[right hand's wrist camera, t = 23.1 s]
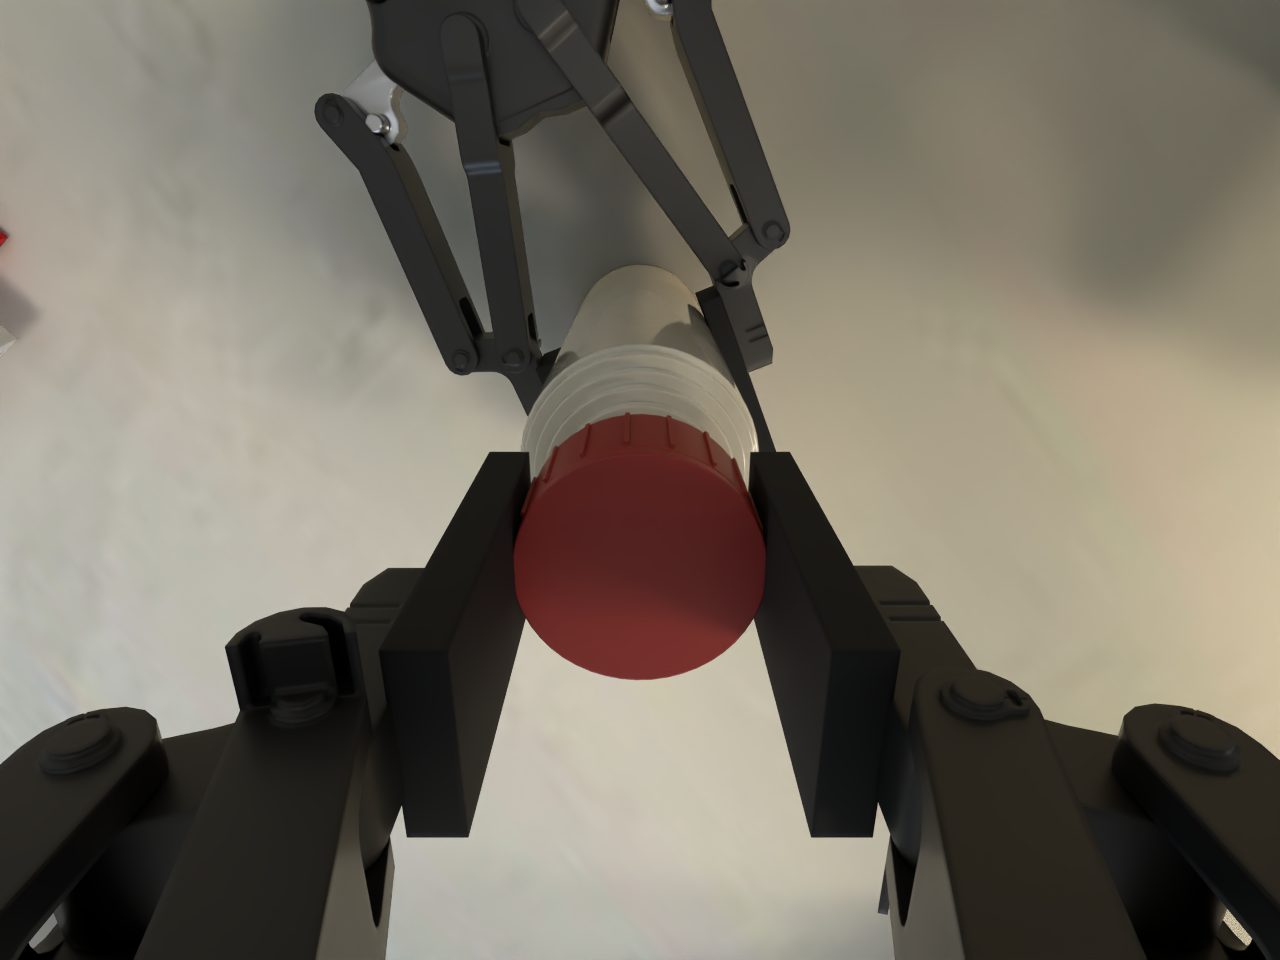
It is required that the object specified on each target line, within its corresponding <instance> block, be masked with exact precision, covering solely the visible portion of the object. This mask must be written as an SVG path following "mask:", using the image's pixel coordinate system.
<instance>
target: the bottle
mask: <svg viewBox="0 0 1280 960" xmlns="http://www.w3.org/2000/svg"><path fill="white" fill-rule="evenodd" d="M627 412H630V414H649V415H659V416H664V417H667V415H670V416H671V417H672V418H673V419H676V420H678V421H681V422H684V423H687V424H689V425H691V426H693V427H695V428H697V429H699V430H701V431H702V432H703V433H704V431H707V432H708V433H709V436H710V437H711V438H712V439H713V440H714V441H716V442H717V443H718V444H719V445H720V446H721V447H722V448H723V449H724V450H725V451H726V452H727V454H728V455H729V456H730V457H731V458H735V459H736V460H737V463H738V466H739V469H740V472H741V475H742V478H743V480H744V482H745V485H746V487H747V490H748V484H749V466H750V452H759V447H758V440H757V433H756V430H755V426H754V423H753V419H752V417H751V415H750V413H749V410H748V408H747V406H746V404H745V402H744V400H743V397H742V395H741V393H740V391H739V389H738V387H737V385H736V383H735V381H734V379H733V377H732V375H731V373H730V371H729V368H728V366H727V364H726V362H725V360H724V358H723V356H722V354H721V352H720V350H719V348H718V346H717V344H716V341H715V339H714V337H713V335H712V333H711V331H710V329H709V327H708V325H707V323H706V321H705V319H704V317H703V314H702V312H701V310H700V308H699V306H698V304H697V302H696V300H695V298H694V296H693V295H692V293H691V291H690V290H689V289H688V287H687V286H686V285H685V284H684V283H683V282H682V281H681V280H680V279H679V278H677V277H676V276H675V275H673V274H672V273H670V272H668V271H666V270H664V269H661V268H658V267H655V266H650V265H630V266H625V267H622V268H619V269H616V270H614V271H612V272H610V273H608V274H607V275H605V276H604V277H602V278H601V279H600V280H599V281H598V282H597V283H596V284H595V285H594V286H593V287H592V288H591V290H590V291H589V293H588V294H587V296H586V298H585V300H584V302H583V304H582V306H581V308H580V310H579V312H578V314H577V316H576V318H575V321H574V323H573V325H572V327H571V329H570V331H569V333H568V335H567V337H566V339H565V341H564V343H563V345H562V347H561V350H560V352H559V354H558V356H557V358H556V360H555V362H554V364H553V366H552V368H551V370H550V372H549V374H548V376H547V379H546V381H545V383H544V385H543V387H542V389H541V391H540V393H539V395H538V397H537V399H536V401H535V403H534V405H533V408H532V410H531V412H530V414H529V416H528V419H527V422H526V425H525V428H524V432H523V438H522V444H521V452H529V457H530V474H531V483H532V480H533V478H534V477H536V478H537V476H538V474H539V473H540V471H541V469H542V467H543V465H544V464H545V462H546V461H547V459H548V458H549V457H550V455H551V453H552V450H553V448H554V447H555V446H558V447H559V445H560V444H562V443H563V442H564V441H565V440H566V439H568V438H569V437H570V436H571V435H573V434H575V433H576V432H578V431H579V430H581V429H583V428H584V427H585V424H587V423H590V425H591V424H593V423H596V422H598V421H601V420H604V419H608V418H611V417H616V416H622V415H625V413H627Z"/></svg>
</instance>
